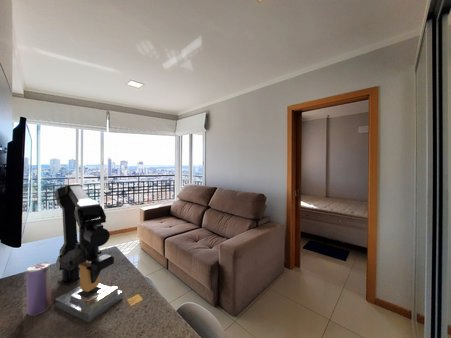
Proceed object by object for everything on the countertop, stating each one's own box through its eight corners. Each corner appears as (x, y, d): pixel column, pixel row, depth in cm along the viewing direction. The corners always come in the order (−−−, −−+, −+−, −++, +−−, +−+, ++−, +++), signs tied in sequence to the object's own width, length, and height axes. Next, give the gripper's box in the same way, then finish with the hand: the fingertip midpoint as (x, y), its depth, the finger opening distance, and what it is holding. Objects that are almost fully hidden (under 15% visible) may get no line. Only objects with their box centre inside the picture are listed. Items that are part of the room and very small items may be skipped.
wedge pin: (78, 289, 68) (78, 264, 68) (92, 282, 73) (91, 258, 72) (87, 292, 67) (87, 267, 66) (100, 285, 71) (100, 261, 71)
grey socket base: (55, 306, 67) (55, 293, 67) (90, 286, 79) (90, 275, 78) (88, 322, 61) (88, 308, 61) (122, 298, 72) (122, 286, 72)
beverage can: (36, 318, 62) (35, 272, 62) (22, 315, 63) (21, 270, 63) (55, 304, 68) (55, 263, 68) (42, 302, 69) (41, 261, 69)
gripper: (46, 242, 65) (47, 288, 66) (81, 253, 58) (82, 303, 59) (81, 232, 75) (81, 271, 76) (115, 239, 68) (115, 282, 69)
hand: (89, 281), depth 70 cm, fingers closed on wedge pin, 4 cm apart
